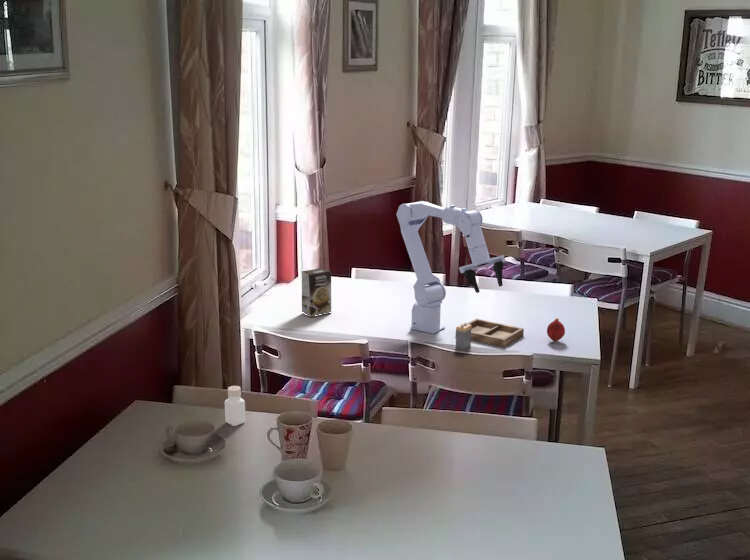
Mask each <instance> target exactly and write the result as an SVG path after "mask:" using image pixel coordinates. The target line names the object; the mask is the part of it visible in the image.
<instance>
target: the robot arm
mask: <svg viewBox="0 0 750 560" xmlns="http://www.w3.org/2000/svg"><path fill="white" fill-rule="evenodd" d="M395 215H396V217H397V221H398V224H399V227H400V233H401V236H402V238H403V241H404V244H405V247H406V251H407V254H408V255H409V256H408V257H409V259H410V261H411V265H412V268H413V271H414V273H415V276H416V279H417V280H416V281H415V282H414V284H413V286H412V287H413V290H414V299H415V303H414V304H413V305H412V308H411V326H410V328H409V329H411V330H416V331H420V332H422V333H423V332H424V333H427V334H428V333H429V334H436V333H437V332H440V331H441V330H443V329H445V328H446V326H444V325H441V304H443V300H444V299H445V298H446V295H447V291H446V288H445V286H444V284H442V282H441V279H440V278H439V277H437V276H436V275H435V274H433V272H432V269H431V266H430V262H429V260H428V257H427V254H426V251H425V249H424V246H423V243H422V239H421V237H420V234H419V230H420V227H422V226H423V223H425V221H427V218H428V217H434V218H435V217H436V218H441V219H442V222H443V223H445V224H447V225H452V226H455V227H457V228H458V229H459V230H460V231H461V234H462V235H463V237H464V239H465V241H466V246H467V248H468V249H467V250H468V252H469V256H470V259H471V263H470V264H466V265H463V266H460V267H458V268H459V272H460V274H463V276H464V277H465V278H466V280H468V282H469V283H470V284H471V286H472V287H473V290H474V291H475V293H476V294H478V293H480V288H479V286H478V285H479V284H478V282H477V278H476V273H475V270H479V269H481V268H485V267H489V266H492V269H493V271H494V274H495V277H496V280H497V284H498V287H503V285H504V284H503V272H504V271H503V270H504V262H506V258H505V255H504V254H503V255H499V256H496V257H495V256H494V257H491V256H490V254H489V250H488V246H487V243H486V240H485V236H484V233H483V230H482V227H481V226H482V224H483V215H482V213H481V212H480V211H478V210H477V209H471V210H468V209H467V208H466V207H465V208H464V207H463V208H459V207H456V204H450V205H447V206H445V207H443V206H440V205H437V204H433V203H430V202H429V201H424V200H419V201H416V202H409V203H402V204H400V205H399V206H398V209H397V212H396V214H395ZM483 264H484V265H483Z"/></svg>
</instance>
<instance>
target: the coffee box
mask: <svg viewBox="0 0 750 560" xmlns="http://www.w3.org/2000/svg"><path fill="white" fill-rule="evenodd" d="M302 312H304V313H305V314H307V315H309V316H315V315H319V314H324V313H329V312H331V313H332V270H330V269H326V268H323V267H319V268H314V269H309V270H308V269H307V270H303V271H302V270H301V313H302Z"/></svg>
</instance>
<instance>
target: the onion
mask: <svg viewBox="0 0 750 560" xmlns="http://www.w3.org/2000/svg"><path fill="white" fill-rule="evenodd" d="M546 334H547V336H548V338H549V339H550V340H551V341H553V342H555V343H556V342H558V341H559V340H561V339H562V338H563V337H564V336H565V334H566V329H565V326H564V324H563V323H562V322H561V321H560V319H559V318H557V317H556V318H554V320H553V321H552V322H550V323H549V324H548V325H547V328H546Z"/></svg>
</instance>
